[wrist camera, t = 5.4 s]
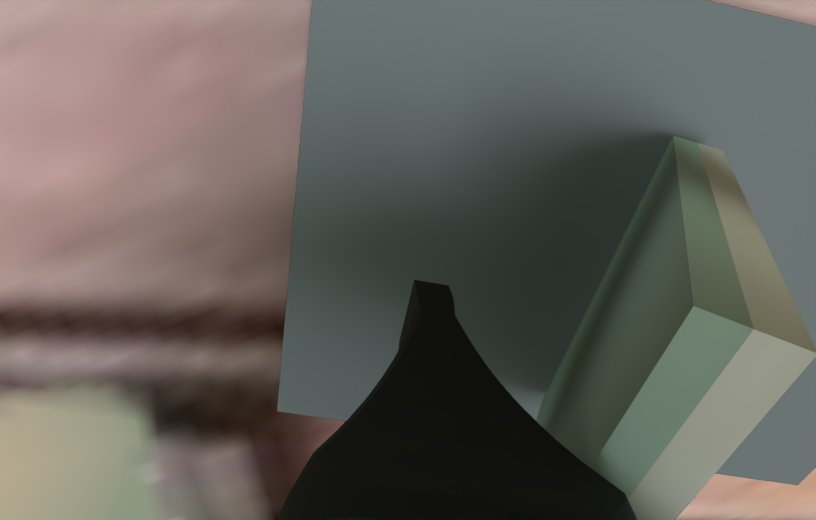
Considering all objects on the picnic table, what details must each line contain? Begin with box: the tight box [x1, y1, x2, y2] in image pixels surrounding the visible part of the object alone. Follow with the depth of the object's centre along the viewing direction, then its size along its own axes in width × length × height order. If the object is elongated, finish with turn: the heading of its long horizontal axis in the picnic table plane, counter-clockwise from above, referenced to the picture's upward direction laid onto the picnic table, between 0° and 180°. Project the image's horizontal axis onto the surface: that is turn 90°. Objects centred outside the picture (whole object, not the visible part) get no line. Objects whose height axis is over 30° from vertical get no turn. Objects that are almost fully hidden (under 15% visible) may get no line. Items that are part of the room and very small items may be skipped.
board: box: [277, 0, 816, 485], centre depth 16 cm, size 16×22×1 cm
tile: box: [536, 136, 816, 520], centre depth 11 cm, size 9×10×1 cm
